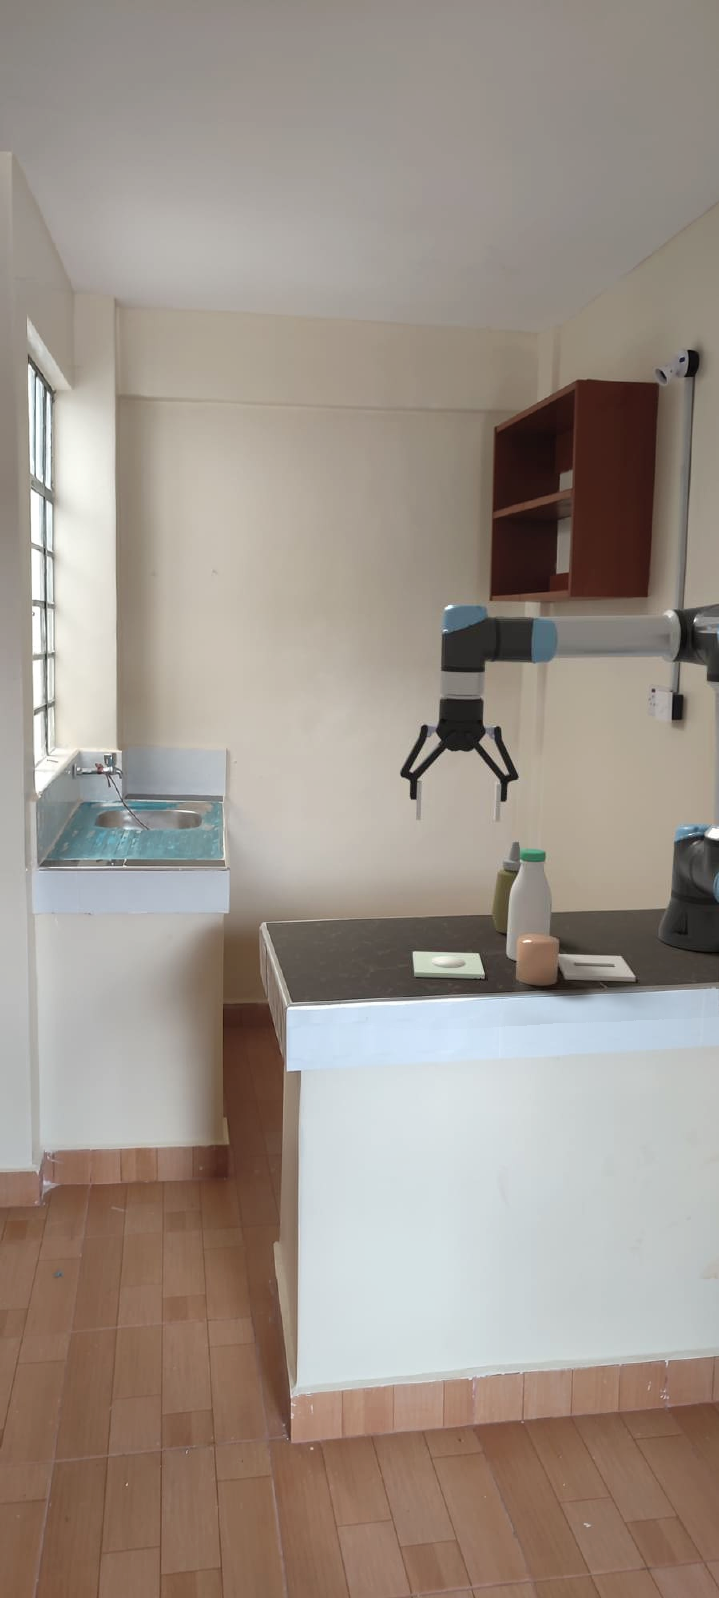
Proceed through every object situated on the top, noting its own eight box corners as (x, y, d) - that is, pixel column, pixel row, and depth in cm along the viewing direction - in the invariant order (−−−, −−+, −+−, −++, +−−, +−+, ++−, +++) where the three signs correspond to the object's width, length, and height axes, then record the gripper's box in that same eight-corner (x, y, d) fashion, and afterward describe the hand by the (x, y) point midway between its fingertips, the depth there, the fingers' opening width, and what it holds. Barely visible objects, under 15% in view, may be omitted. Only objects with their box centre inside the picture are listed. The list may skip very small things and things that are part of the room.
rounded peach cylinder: (553, 973, 199) (555, 934, 198) (559, 986, 192) (562, 946, 191) (513, 971, 199) (515, 933, 198) (518, 984, 192) (520, 945, 191)
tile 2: (620, 960, 207) (621, 955, 207) (635, 981, 195) (635, 976, 195) (554, 958, 207) (555, 953, 207) (565, 979, 195) (565, 973, 195)
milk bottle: (547, 965, 203) (554, 856, 200) (504, 962, 204) (509, 853, 201) (549, 953, 210) (555, 847, 207) (507, 949, 212) (512, 844, 208)
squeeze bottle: (508, 923, 230) (513, 836, 227) (540, 932, 224) (545, 843, 221) (482, 930, 224) (486, 841, 221) (514, 939, 218) (518, 848, 215)
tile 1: (478, 957, 206) (478, 952, 206) (484, 978, 195) (484, 973, 194) (412, 955, 207) (412, 950, 206) (414, 976, 195) (414, 971, 195)
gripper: (532, 696, 197) (526, 817, 200) (388, 693, 197) (385, 813, 200) (538, 700, 189) (532, 825, 193) (388, 696, 189) (385, 821, 193)
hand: (457, 819), depth 197 cm, fingers open, 13 cm apart
